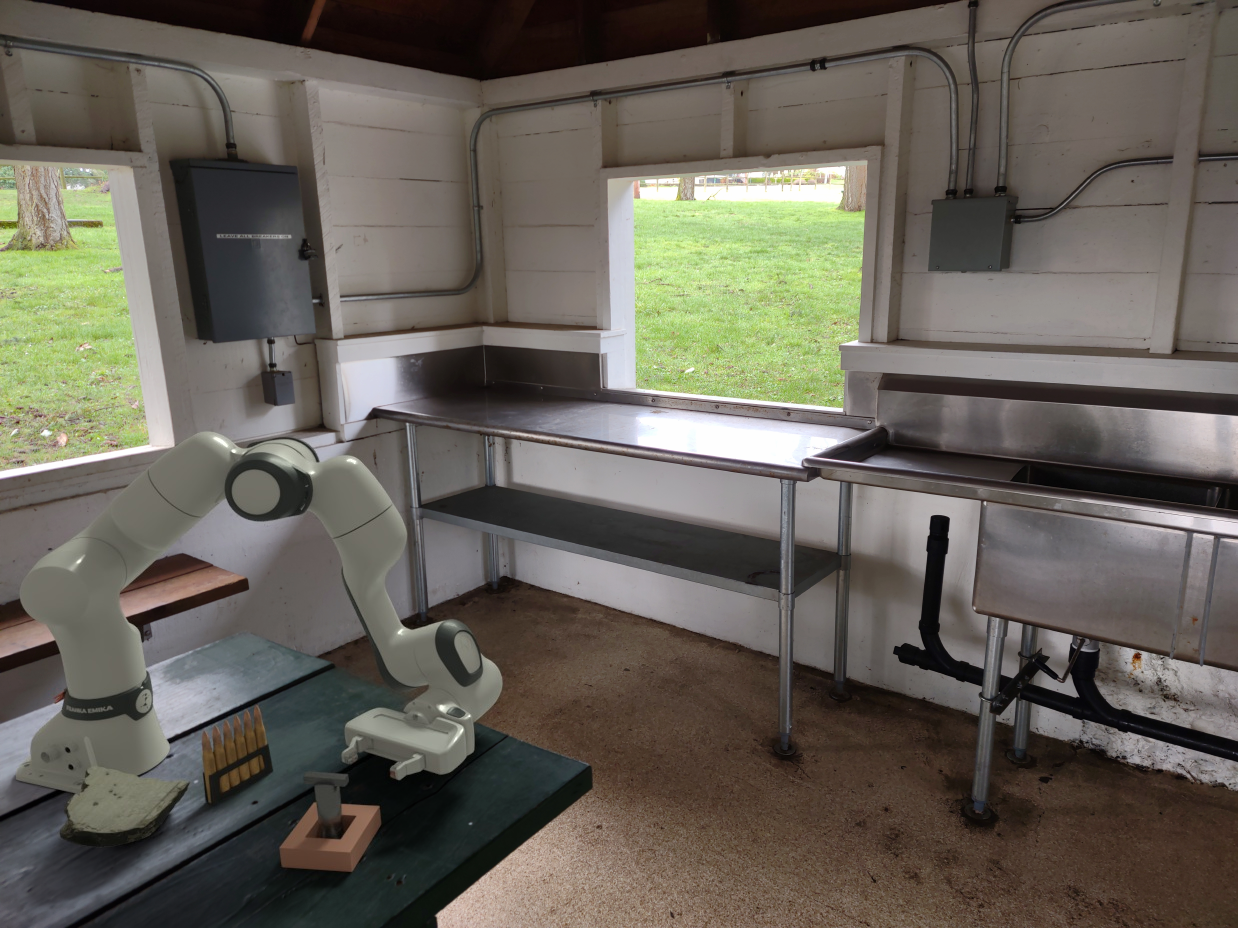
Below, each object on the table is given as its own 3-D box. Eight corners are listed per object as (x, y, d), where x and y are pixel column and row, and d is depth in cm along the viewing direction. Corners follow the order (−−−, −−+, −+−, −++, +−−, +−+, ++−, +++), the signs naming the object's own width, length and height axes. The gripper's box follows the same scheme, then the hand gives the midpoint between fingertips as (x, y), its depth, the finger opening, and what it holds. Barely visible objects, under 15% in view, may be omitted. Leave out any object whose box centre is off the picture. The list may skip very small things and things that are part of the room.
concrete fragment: (203, 781, 131) (159, 780, 117) (174, 854, 127) (125, 862, 113) (113, 758, 131) (58, 754, 117) (82, 830, 127) (21, 835, 113)
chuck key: (307, 850, 118) (299, 780, 116) (319, 835, 121) (311, 766, 119) (348, 853, 117) (340, 783, 115) (358, 838, 120) (351, 770, 118)
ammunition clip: (212, 806, 129) (202, 735, 126) (205, 802, 130) (194, 731, 127) (273, 771, 137) (265, 703, 135) (266, 767, 138) (257, 700, 136)
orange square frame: (281, 866, 115) (279, 847, 114) (316, 820, 125) (314, 802, 124) (352, 871, 114) (350, 852, 113) (381, 823, 124) (379, 805, 123)
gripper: (379, 690, 140) (315, 731, 128) (480, 717, 131) (421, 763, 119) (382, 725, 142) (319, 768, 130) (482, 753, 132) (424, 803, 120)
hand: (369, 766), depth 124 cm, fingers open, 8 cm apart
